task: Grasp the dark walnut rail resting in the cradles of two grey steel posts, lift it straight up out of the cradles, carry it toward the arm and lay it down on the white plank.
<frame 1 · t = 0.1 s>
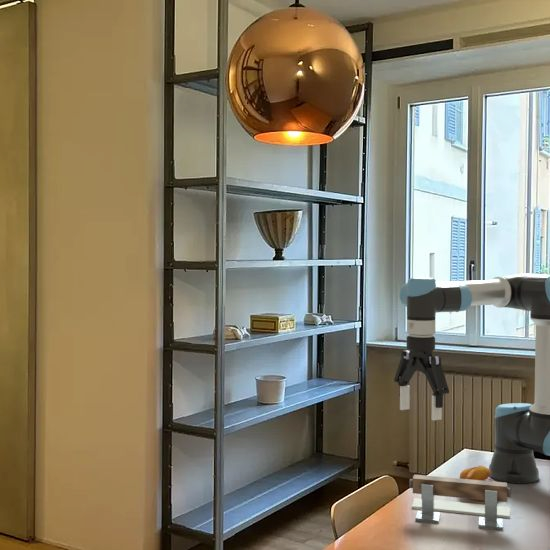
hand: (420, 414, 194), 28 cm above the table, fingers open, 13 cm apart
rail: (459, 495, 192), point 7 cm above the table, touching standard a, standard b
standard b: (490, 524, 190), on the table
white plank: (460, 508, 201), on the table
cheeseburger: (479, 497, 212), on the table
standard a: (428, 518, 194), on the table
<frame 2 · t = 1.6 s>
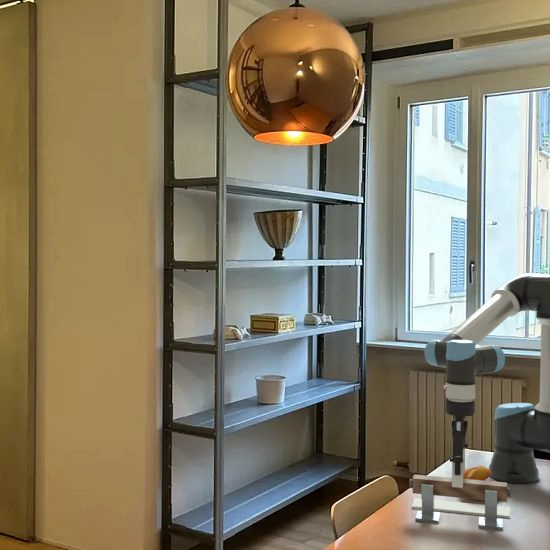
hand: (458, 479, 191), 11 cm above the table, fingers open, 13 cm apart
nothing on the table moved.
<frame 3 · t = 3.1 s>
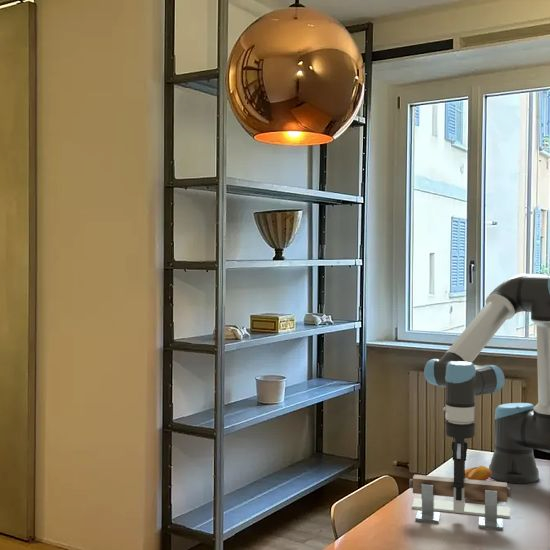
hand: (459, 508, 192), 3 cm above the table, fingers closed on rail, 3 cm apart
rail: (459, 495, 192), point 7 cm above the table, touching gripper, standard a, standard b
everything else where it was.
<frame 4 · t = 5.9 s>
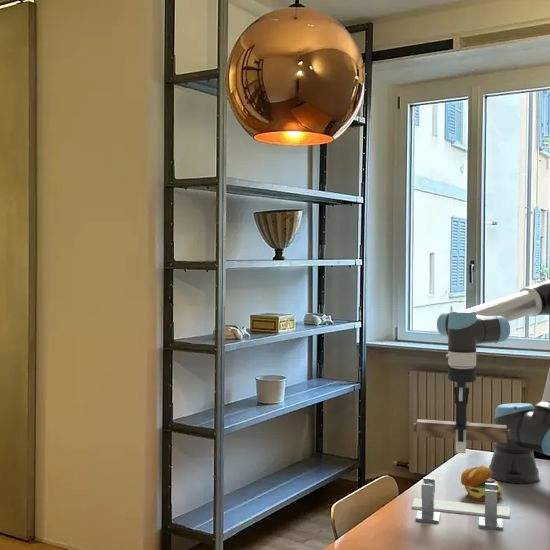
hand: (460, 450, 201), 16 cm above the table, fingers closed on rail, 3 cm apart
rail: (460, 437, 201), point 20 cm above the table, touching gripper
everything else where it was.
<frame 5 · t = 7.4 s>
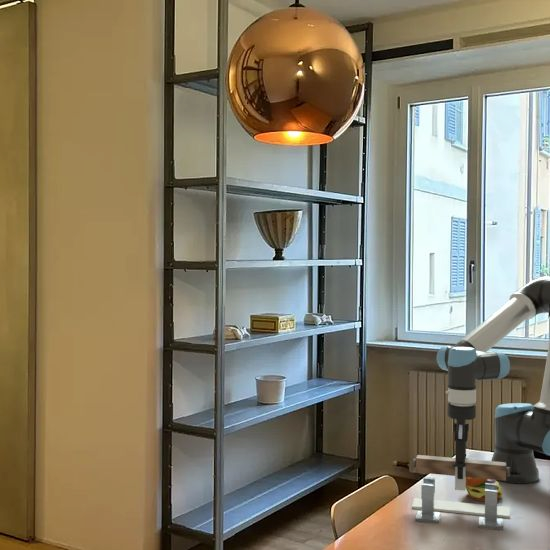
hand: (460, 487, 201), 6 cm above the table, fingers closed on rail, 3 cm apart
rail: (460, 474, 201), point 10 cm above the table, touching gripper
everything else where it was.
when the fingers open (1 cm above the table, at t = 8.6 s): rail drops 4 cm, resting on white plank.
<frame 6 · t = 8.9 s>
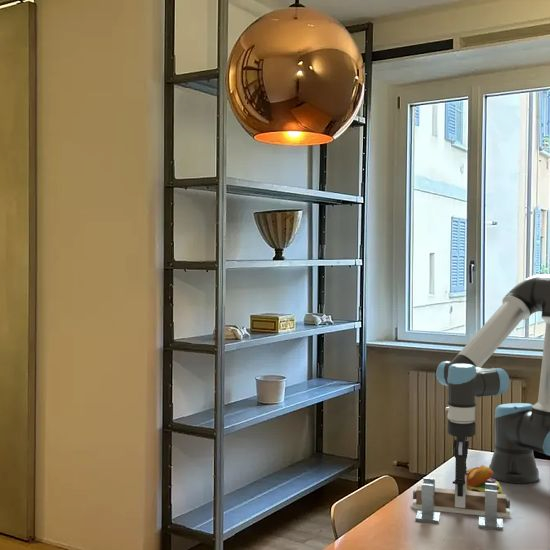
hand: (460, 502, 201), 2 cm above the table, fingers open, 7 cm apart
rail: (460, 506, 202), point 1 cm above the table, touching white plank
everything else where it was.
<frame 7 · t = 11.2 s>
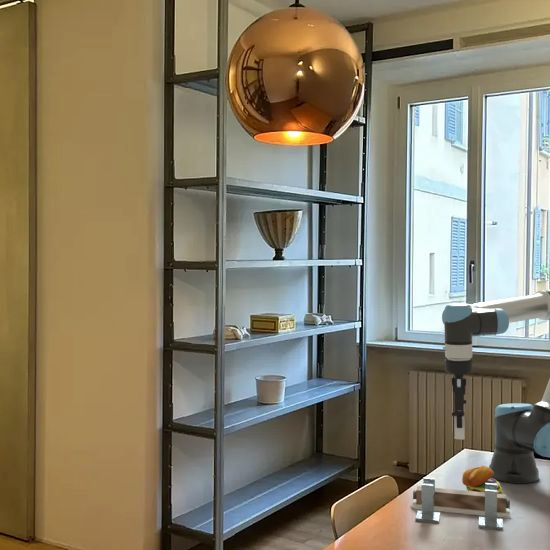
hand: (459, 432, 206), 20 cm above the table, fingers open, 13 cm apart
nothing on the table moved.
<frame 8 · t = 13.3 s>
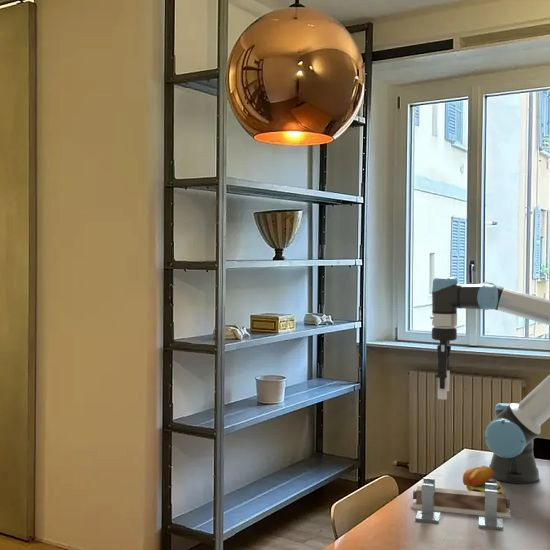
hand: (443, 395, 226), 27 cm above the table, fingers open, 13 cm apart
nothing on the table moved.
at the end: rail inside the target area on the white plank (0.1 cm from its centre), point 0.6 cm above the white plank's base; rail point 0.6 cm above the table; the gripper is holding nothing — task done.
